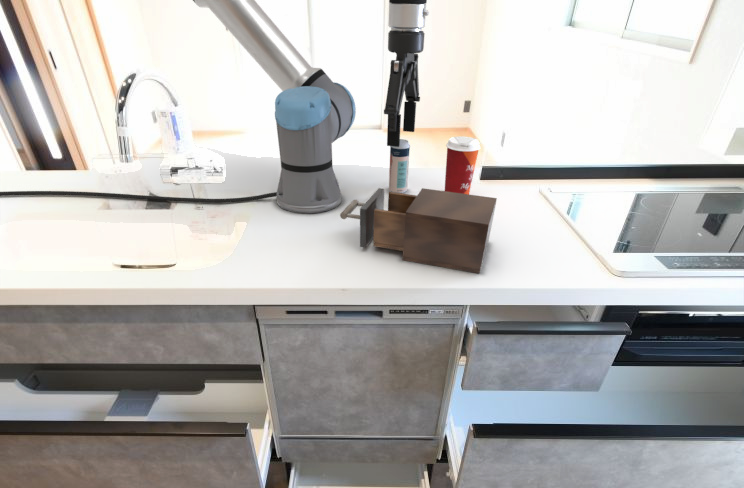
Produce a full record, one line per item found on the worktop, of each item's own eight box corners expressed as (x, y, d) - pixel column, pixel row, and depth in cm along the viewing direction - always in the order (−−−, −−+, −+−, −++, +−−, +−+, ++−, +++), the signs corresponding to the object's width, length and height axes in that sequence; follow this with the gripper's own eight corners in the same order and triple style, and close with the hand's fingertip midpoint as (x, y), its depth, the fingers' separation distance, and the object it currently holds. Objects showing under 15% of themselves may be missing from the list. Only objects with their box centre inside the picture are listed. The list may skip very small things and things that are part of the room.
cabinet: (402, 260, 85) (405, 212, 79) (418, 232, 94) (422, 188, 88) (479, 273, 81) (489, 224, 75) (487, 244, 90) (496, 198, 85)
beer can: (395, 186, 115) (398, 137, 108) (410, 190, 113) (414, 141, 106) (384, 191, 112) (386, 141, 105) (399, 196, 110) (402, 145, 103)
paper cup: (471, 208, 105) (481, 146, 96) (438, 205, 106) (445, 143, 97) (471, 196, 111) (481, 136, 102) (441, 193, 112) (448, 134, 103)
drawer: (336, 243, 88) (335, 204, 83) (356, 220, 96) (356, 184, 91) (427, 258, 83) (431, 219, 79) (439, 233, 92) (444, 196, 87)
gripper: (408, 35, 82) (402, 154, 95) (436, 26, 100) (428, 127, 113) (370, 33, 83) (369, 151, 96) (404, 25, 102) (400, 124, 115)
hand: (401, 138), depth 105 cm, fingers open, 13 cm apart
